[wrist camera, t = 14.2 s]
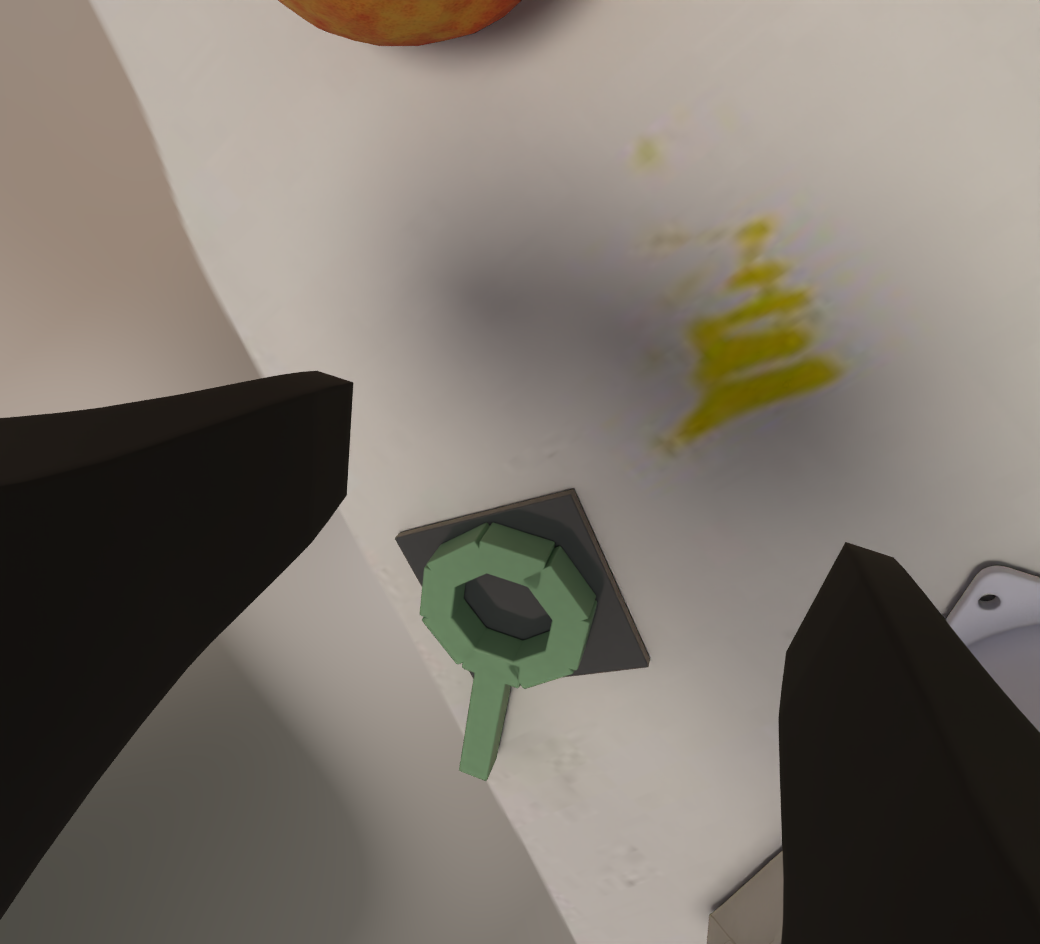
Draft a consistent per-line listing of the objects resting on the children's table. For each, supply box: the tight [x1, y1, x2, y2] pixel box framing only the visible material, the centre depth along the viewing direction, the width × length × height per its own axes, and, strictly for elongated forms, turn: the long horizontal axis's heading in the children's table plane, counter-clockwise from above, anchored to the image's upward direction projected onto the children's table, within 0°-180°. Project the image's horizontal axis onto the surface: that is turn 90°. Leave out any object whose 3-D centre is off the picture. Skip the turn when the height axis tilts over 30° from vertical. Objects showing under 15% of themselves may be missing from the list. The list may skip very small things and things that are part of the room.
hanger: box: [420, 523, 597, 781], centre depth 26 cm, size 11×6×1 cm, turn 171°
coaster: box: [395, 489, 650, 679], centre depth 25 cm, size 7×7×1 cm
